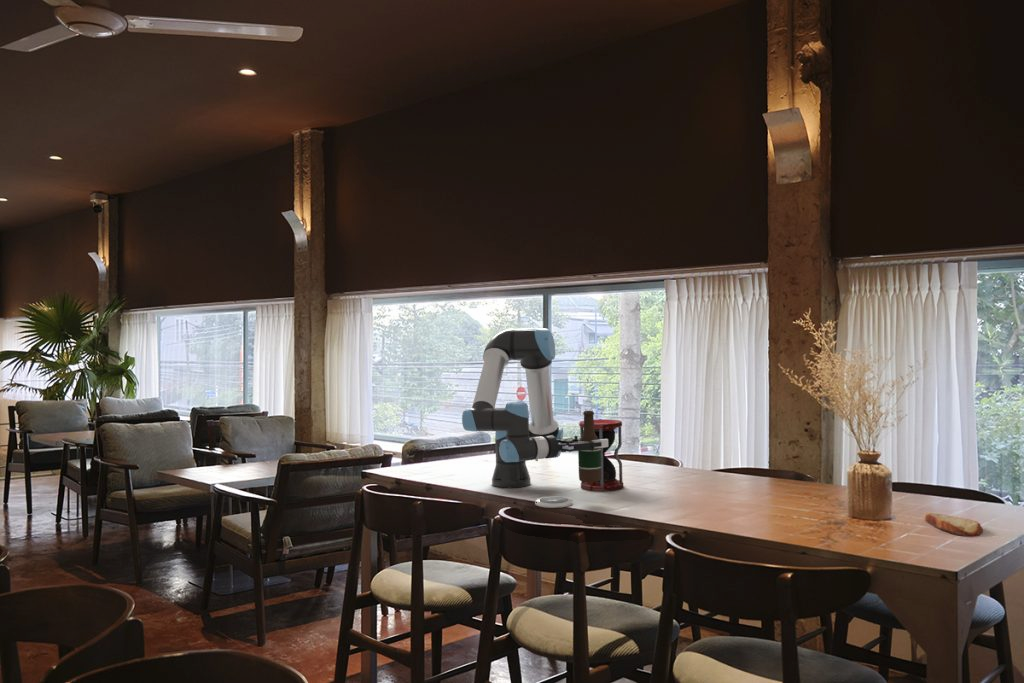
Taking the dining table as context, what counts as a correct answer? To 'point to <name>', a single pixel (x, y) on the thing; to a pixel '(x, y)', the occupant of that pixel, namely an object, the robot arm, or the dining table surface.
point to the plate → (554, 502)
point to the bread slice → (954, 524)
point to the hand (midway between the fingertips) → (601, 441)
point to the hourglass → (608, 472)
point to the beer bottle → (589, 453)
